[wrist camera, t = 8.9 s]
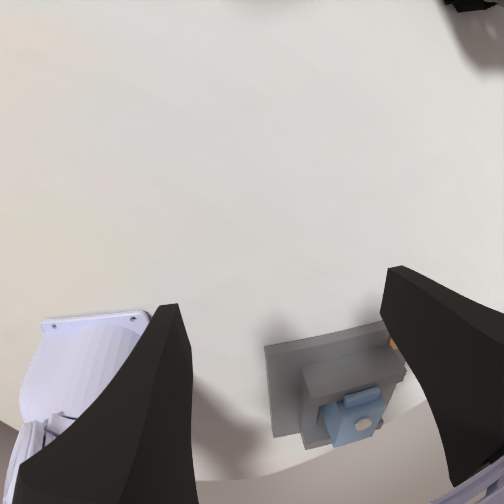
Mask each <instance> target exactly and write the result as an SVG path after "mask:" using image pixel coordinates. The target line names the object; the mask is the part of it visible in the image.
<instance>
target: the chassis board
mask: <svg viewBox="0 0 504 504" xmlns="http://www.w3.org/2000/svg"><path fill="white" fill-rule="evenodd" d="M264 348H265V359H266V369H267V380H268V391H269V401H270V412H271V423H272V432H273V437H274V438H276V437H281V436H286V435H291V434H296V433H301V437H302V440H303V444H304V447H305V450H308V449H312V448H316V447H320V446H324V445H328V444H332V441H331V439H330V436H329V433H328V430H327V427H326V424H325V421H324V418H323V415H322V413H321V410H320V406H322V405H326V404H330V403H333V402H337V401H341V400H344V396H346V395H349V394H353V393H356V392H360V391H363V390H366V389H370V388H373V387H376V386H378V387H379V389H380V393H381V395H382V397H383V399H384V401H385V403H386V405H388V403H389V400H390V398H391V396H392V393H393V391H394V389H395V386H396V384H397V383H399V382H401V381H403V378H404V376H405V374H406V371H407V370H406V369H405V367H404V364H405V361H406V360H405V359H404V357H403V356H402V354H401V352H400V351H399V349H398V348H397V346H396V344H395V343H394V341H393V340H392V338H391V336H390V334H389V332H388V330H387V328H386V326H385V324H384V322H383V321H380V322H376V323H372V324H368V325H364V326H360V327H356V328H352V329H348V330H344V331H339V332H335V333H330V334H326V335H321V336H316V337H312V338H307V339H302V340H297V341H291V342H286V343H281V344H275V345H270V346H264ZM386 407H387V406H386ZM382 424H383V420H382V418H381V419H380V421H379V423H378V425H377V427H376V429H375V430H377V429H380V428H381V426H382Z"/></svg>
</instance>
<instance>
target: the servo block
mask: <svg viewBox="0 0 504 504" xmlns="http://www.w3.org/2000/svg"><path fill="white" fill-rule="evenodd" d="M386 406H387V405H386V403H385V401H384V399H383V397H382V395H381V393H380V389H379V387H378V386H376V387H373V388H370V389H366V390H363V391H360V392H356V393H353V394H349V395H346V396H344V400H341V401H337V402H333V403H330V404H326V405H322V406H320V410H321V413H322V415H323V418H324V421H325V424H326V427H327V430H328V433H329V436H330V439H331V441H332V444H333V447H334V448H335V447H339V446H342V445H345V444H348V443H352V442H355V441H359V440H362V439H365V438H367V437H371V436H372V435H373V433H374V431H375V429H376V427H377V425H378V423H379V421H380V419H381V417H382V414H383V412H384V410H385V408H386Z"/></svg>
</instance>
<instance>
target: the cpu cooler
mask: <svg viewBox="0 0 504 504" xmlns="http://www.w3.org/2000/svg"><path fill="white" fill-rule="evenodd" d="M445 1H446V2H444V3H446V4H445V5H447V4H453V5H454V7H455V9H456V10H457V12H467V11H476V10H486V9H488V8H490V7H492V6H495V5H496V4H497V5H499V6H502V7H504V0H449V1H447V0H445Z"/></svg>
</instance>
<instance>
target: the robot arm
mask: <svg viewBox="0 0 504 504" xmlns="http://www.w3.org/2000/svg"><path fill="white" fill-rule="evenodd" d="M380 315H381V317H382V319H383V322H384V324H385V326H386V328H387V330H388V332H389V334H390V336H391V338H392V340H393V341H394V343H395V344H396V346H397V348H398V349H399V351H400V352H401V354H402V356H403V357H404V359H405V360H406V362H407V363H408V365H409V367H410V368H411V370H412V372H413V373H414V375H415V376H416V378H417V380H418V382H419V383H420V385H421V387H422V389H423V391H424V394H425V396H426V398H427V401H428V403H429V405H430V408H431V410H432V413H433V415H434V418H435V421H436V424H437V427H438V430H439V433H440V436H441V440H442V443H443V447H444V451H445V456H446V460H447V465H448V471H449V478H450V481H451V483H452V485H453V487H456V486H458V485H460V484H461V483H463V482H464V481H466V480H468V479H469V478H471V477H472V476H474V475H475V474H477V473H478V472H480V471H481V470H483V469H484V468H486V467H487V466H489V465H490V466H489V467H487V468H486V469H484V470H483V471H481V472H480V473H478V474H477V475H476V476H474V477H472V478H471V479H469V480H468V481H466V482H465V483H463V484H461V485H460V486H458V487H456V488H455V489H453V490H451V491H450V492H448V493H447V494H444V495H443V496H441V497H439V498H437V499H435V500H433V501H431V502H429V503H427V504H464V503H466V502H467V501H469V500H470V499H472V498H473V497H475V496H476V495H478V494H479V493H480V492H482V491H484V490H485V489H486V488H487V492H486V495H485V497H483V498H482V499H480V500H479V501H477V502H475V503H474V504H504V313H501V312H498V311H496V310H493V309H491V308H488V307H486V306H483V305H481V304H479V303H477V302H475V301H473V300H470V299H468V298H466V297H464V296H462V295H460V294H458V293H456V292H454V291H452V290H450V289H448V288H446V287H445V286H443V285H441V284H439V283H437V282H435V281H433V280H431V279H429V278H427V277H426V276H424V275H422V274H420V273H418V272H416V271H414V270H411V269H409V268H407V267H404V266H397V267H392V268H388V270H387V276H386V282H385V288H384V293H383V299H382V304H381V309H380ZM132 317H135V318H137V319H133V318H132ZM54 324H55V325H54ZM40 326H41V328H42V330H43V332H44V335H43V337H42V339H41V341H40V343H39V345H38V347H37V349H36V352H35V354H34V356H33V358H32V360H31V363H30V365H29V367H28V370H27V372H26V374H25V377H24V379H23V381H22V384H21V388H20V397H19V402H20V411H21V415H22V418H23V421H24V423H25V424H24V425H23V426H22V428H21V430H20V432H19V435H18V437H17V440H16V443H15V446H14V449H13V452H12V455H11V459H10V463H9V467H8V471H7V476H6V481H5V488H4V498H3V504H199V502H198V497H197V490H196V483H195V476H194V468H193V458H192V448H191V410H192V387H193V366H192V352H191V345H190V342H189V339H188V336H187V333H186V329H185V326H184V323H183V320H182V316H181V313H180V309H179V306H178V303H176V304H168V305H160V306H159V307H158V308H157V310H156V312H155V313H154V315H153V317H152V318H151V320H150V321H149V318H148V315H147V314H146V313H145V312H144V311H141V310H138V311H129V312H120V313H111V314H101V315H92V316H81V317H71V318H59V319H47V320H42V322H41V324H40Z"/></svg>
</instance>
